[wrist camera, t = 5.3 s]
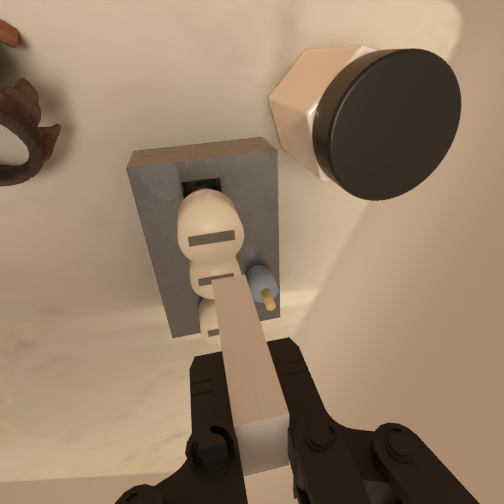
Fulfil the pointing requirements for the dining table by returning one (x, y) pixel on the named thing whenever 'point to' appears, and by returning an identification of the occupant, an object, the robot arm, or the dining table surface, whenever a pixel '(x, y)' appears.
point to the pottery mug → (24, 121)
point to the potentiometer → (262, 285)
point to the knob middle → (211, 275)
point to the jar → (368, 116)
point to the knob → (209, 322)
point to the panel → (228, 182)
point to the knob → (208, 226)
